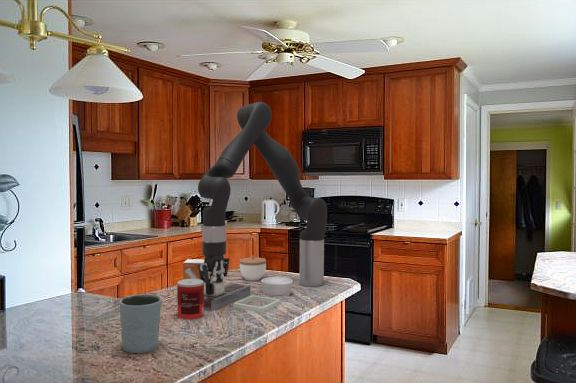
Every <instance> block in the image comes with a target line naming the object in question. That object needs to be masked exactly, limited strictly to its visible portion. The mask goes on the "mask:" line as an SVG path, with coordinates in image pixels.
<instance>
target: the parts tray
mask: <svg viewBox="0 0 576 383" xmlns="http://www.w3.org/2000/svg"><path fill="white" fill-rule="evenodd" d="M251 301H256V302H262V303H268V304H266V305H264V306H256V305H250V304H247V303H250V302H251ZM281 304H282V300H281V299H279V298H272V297H266V296H259V295H251V294H250V295H249V296H246V297H244V298H242V299H239V300H237V301H235V302H232V308H233V309H238V310H245V311H251V312H256V313H257V312H258V313H267V312H268V311H269V310H271V309H273V308H275V307H277V306H279V305H281ZM275 310H277V308H276V309H275ZM275 310H274V309H273V310H272V311H270V312H269V313H268V314H270V313H271V312H273V311H275Z"/></svg>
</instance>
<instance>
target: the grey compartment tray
mask: <svg viewBox="0 0 576 383" xmlns="http://www.w3.org/2000/svg"><path fill="white" fill-rule="evenodd" d="M249 296H251V285H246V284H238V283H229V284H225V295H223V296H220V297H218V298H214V297H207V296H204V311H206V312H207V311H208V312H214V311H215V310H218V309H220V308H222V307H225V306H228V305H229V304H233V303H235V302H237V301H240V300H242V299H244V298H247V297H249Z"/></svg>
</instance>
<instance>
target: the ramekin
mask: <svg viewBox="0 0 576 383" xmlns="http://www.w3.org/2000/svg"><path fill="white" fill-rule="evenodd" d="M260 283H261V288H262V293H263V294H264V295H269V296H287V297H288V296H290V295H291V293H292V288H293V284H294V281H293V279H292V278H290V277H286V276H269V277H264V278H261V279H260Z"/></svg>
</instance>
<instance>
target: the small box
mask: <svg viewBox="0 0 576 383" xmlns="http://www.w3.org/2000/svg"><path fill="white" fill-rule="evenodd" d="M204 260H205V259H199V258H197V259H194V258H193V259H190V258H188V259H186V260H185V261H184V262H182V280H184V279H200V275H199V269H198V265H199V264H203V263H204ZM208 273H211V272H209V271H208ZM204 278H205V276H204ZM209 279H210V275H209ZM204 283H205V282H204Z"/></svg>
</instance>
